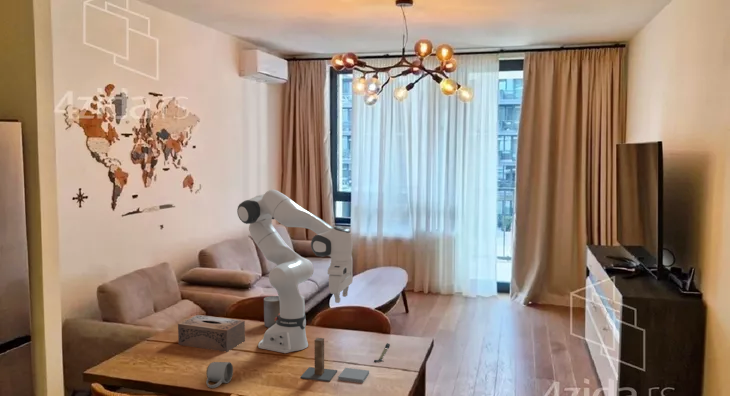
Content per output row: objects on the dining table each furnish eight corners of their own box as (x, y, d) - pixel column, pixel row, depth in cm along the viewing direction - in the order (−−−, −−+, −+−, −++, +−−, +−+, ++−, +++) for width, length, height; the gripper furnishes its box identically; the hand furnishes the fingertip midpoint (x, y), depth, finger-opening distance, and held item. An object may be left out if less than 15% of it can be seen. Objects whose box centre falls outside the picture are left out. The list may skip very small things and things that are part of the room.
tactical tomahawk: (388, 366, 238) (389, 363, 238) (373, 363, 240) (373, 360, 239) (399, 347, 258) (399, 345, 258) (385, 345, 260) (385, 342, 259)
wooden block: (314, 374, 225) (314, 340, 223) (317, 371, 228) (316, 337, 226) (321, 375, 224) (321, 340, 223) (324, 372, 227) (324, 338, 226)
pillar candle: (286, 322, 290) (285, 293, 289) (279, 328, 281) (278, 298, 279) (268, 321, 292) (268, 292, 291) (260, 327, 283) (260, 297, 281)
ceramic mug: (214, 376, 224) (213, 357, 223) (233, 378, 222) (233, 359, 221) (201, 388, 214) (200, 368, 213) (221, 390, 212) (220, 370, 211)
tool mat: (300, 378, 223) (300, 376, 223) (309, 368, 232) (309, 366, 232) (329, 381, 220) (329, 380, 220) (337, 371, 229) (337, 370, 229)
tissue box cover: (244, 341, 263) (244, 320, 262) (227, 352, 250) (226, 330, 249) (198, 335, 272) (197, 314, 271) (178, 345, 258) (177, 323, 257)
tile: (345, 371, 230) (338, 381, 222) (345, 367, 230) (338, 376, 221) (369, 374, 227) (362, 384, 219) (369, 370, 227) (362, 379, 219)
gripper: (342, 260, 243) (342, 292, 245) (326, 271, 224) (325, 305, 225) (356, 261, 242) (356, 293, 243) (341, 272, 222) (340, 306, 224)
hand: (341, 299), depth 234 cm, fingers open, 8 cm apart
